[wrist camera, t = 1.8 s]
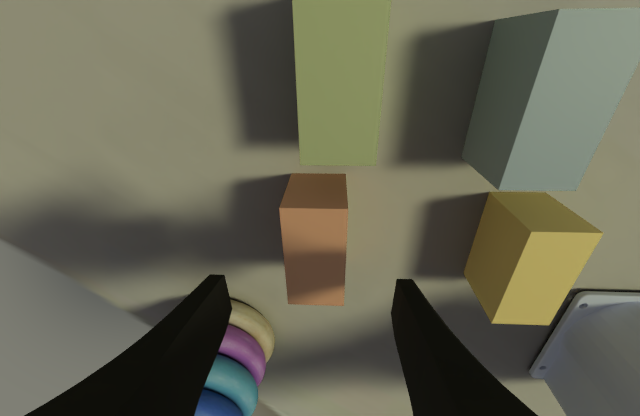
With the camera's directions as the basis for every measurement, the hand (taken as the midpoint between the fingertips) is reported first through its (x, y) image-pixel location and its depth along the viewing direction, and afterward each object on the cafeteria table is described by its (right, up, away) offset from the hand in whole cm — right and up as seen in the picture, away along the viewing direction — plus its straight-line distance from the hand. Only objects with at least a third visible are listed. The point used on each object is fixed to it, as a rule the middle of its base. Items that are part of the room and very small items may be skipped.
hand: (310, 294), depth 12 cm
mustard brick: (+11, +2, +5) cm, 13 cm away
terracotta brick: (0, +3, +5) cm, 6 cm away
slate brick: (+9, +9, +1) cm, 13 cm away
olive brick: (+1, +10, +1) cm, 10 cm away
